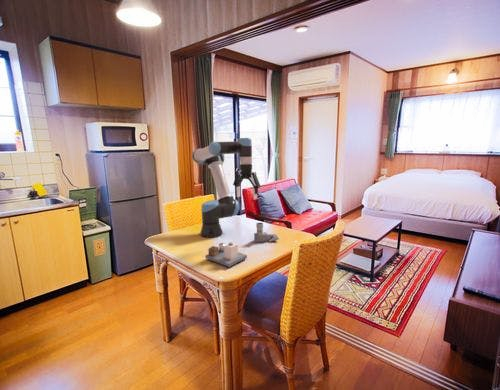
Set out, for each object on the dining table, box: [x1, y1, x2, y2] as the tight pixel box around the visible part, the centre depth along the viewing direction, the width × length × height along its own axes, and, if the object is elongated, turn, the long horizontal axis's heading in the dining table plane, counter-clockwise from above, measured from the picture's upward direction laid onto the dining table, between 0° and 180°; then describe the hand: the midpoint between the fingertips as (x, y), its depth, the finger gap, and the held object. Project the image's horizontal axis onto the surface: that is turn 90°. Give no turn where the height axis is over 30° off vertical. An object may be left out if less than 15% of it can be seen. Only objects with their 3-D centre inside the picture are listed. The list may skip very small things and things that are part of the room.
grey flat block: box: [204, 251, 248, 269], centre depth 151 cm, size 18×14×2 cm
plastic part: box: [224, 242, 239, 260], centre depth 147 cm, size 5×5×8 cm
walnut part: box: [207, 245, 219, 257], centre depth 151 cm, size 4×4×4 cm
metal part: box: [218, 242, 226, 252], centre depth 156 cm, size 4×4×4 cm
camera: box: [253, 222, 280, 243], centre depth 178 cm, size 9×12×15 cm
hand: (246, 197), depth 172 cm, fingers open, 13 cm apart
